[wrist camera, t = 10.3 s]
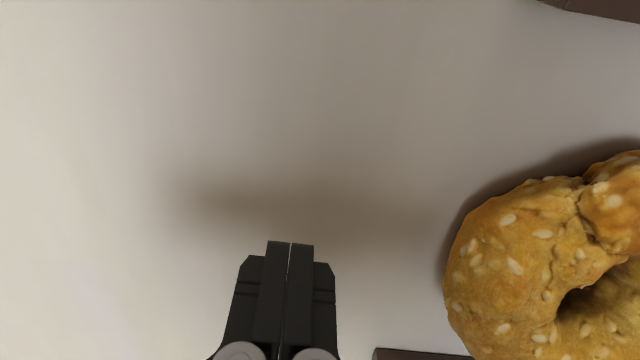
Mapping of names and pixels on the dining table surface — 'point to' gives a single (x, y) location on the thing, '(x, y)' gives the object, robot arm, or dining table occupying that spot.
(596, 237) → the bagel
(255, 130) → the dining table surface
